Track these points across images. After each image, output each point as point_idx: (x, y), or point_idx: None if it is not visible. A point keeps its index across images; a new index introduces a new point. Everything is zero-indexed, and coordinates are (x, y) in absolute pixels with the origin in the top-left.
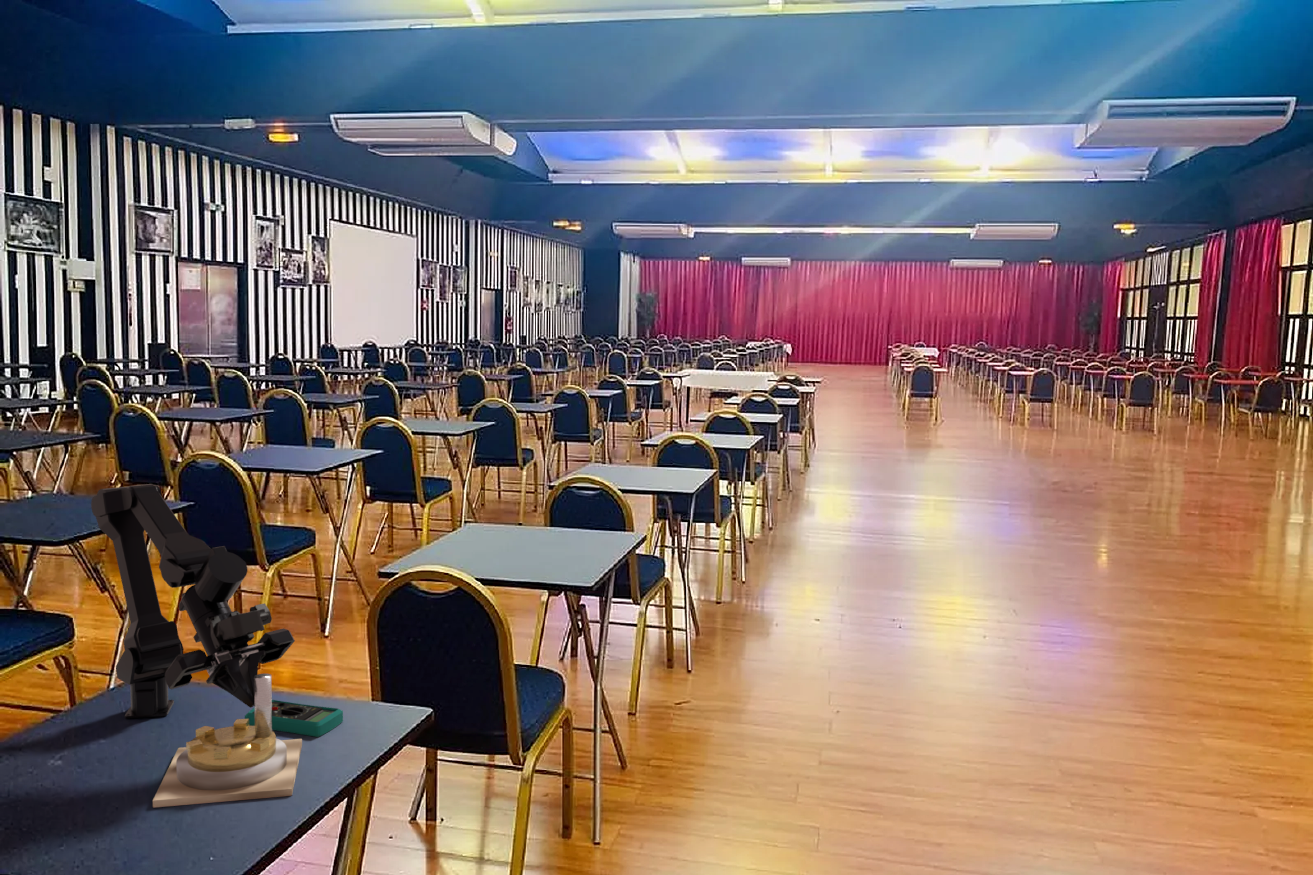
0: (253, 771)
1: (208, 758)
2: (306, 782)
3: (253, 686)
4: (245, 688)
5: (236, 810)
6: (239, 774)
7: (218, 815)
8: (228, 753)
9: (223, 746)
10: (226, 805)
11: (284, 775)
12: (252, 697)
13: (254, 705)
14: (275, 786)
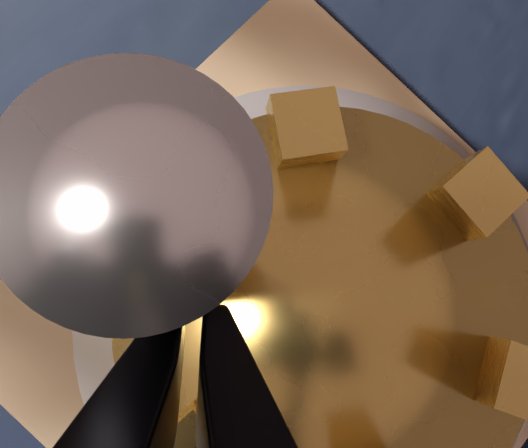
0: (368, 95)
1: (518, 231)
2: (188, 31)
3: (140, 421)
4: (253, 424)
5: (454, 62)
6: (418, 117)
7: (505, 81)
8: (463, 164)
9: (404, 292)
10: (455, 116)
11: (236, 82)
12: (209, 337)
13: (184, 339)
14: (314, 40)
